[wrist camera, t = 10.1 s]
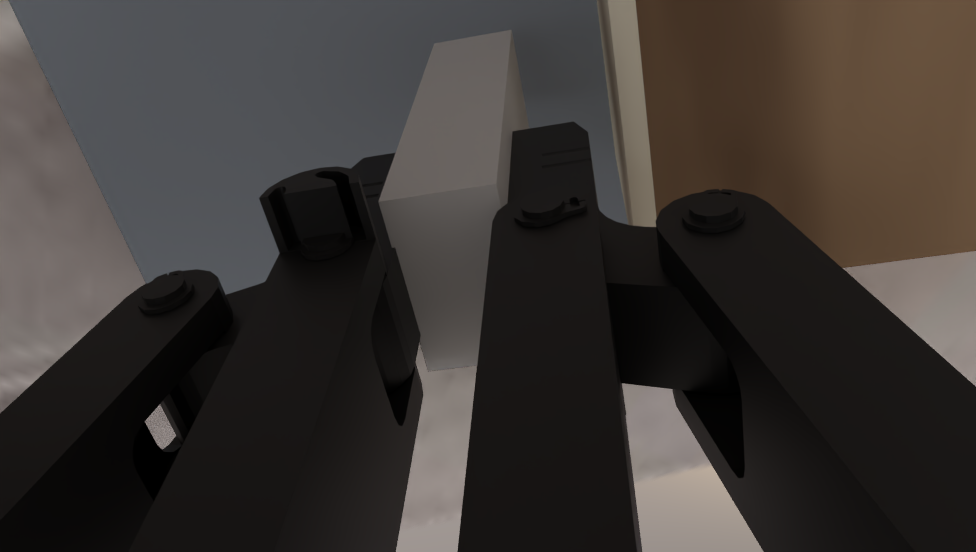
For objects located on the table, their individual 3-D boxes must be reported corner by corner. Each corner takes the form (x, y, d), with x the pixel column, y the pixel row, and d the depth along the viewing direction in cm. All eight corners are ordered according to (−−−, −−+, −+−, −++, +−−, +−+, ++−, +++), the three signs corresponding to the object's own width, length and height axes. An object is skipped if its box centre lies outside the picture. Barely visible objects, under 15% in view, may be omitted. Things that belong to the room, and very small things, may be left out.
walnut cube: (641, 294, 15) (995, 248, 14) (601, -50, 12) (1051, -134, 11) (615, 156, 20) (875, 116, 19) (583, -111, 17) (891, -173, 16)
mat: (171, 316, 24) (166, 324, 24) (-48, -141, 18) (-60, -139, 17) (1453, 137, 19) (1469, 144, 19) (1763, -565, 13) (1793, -573, 13)
